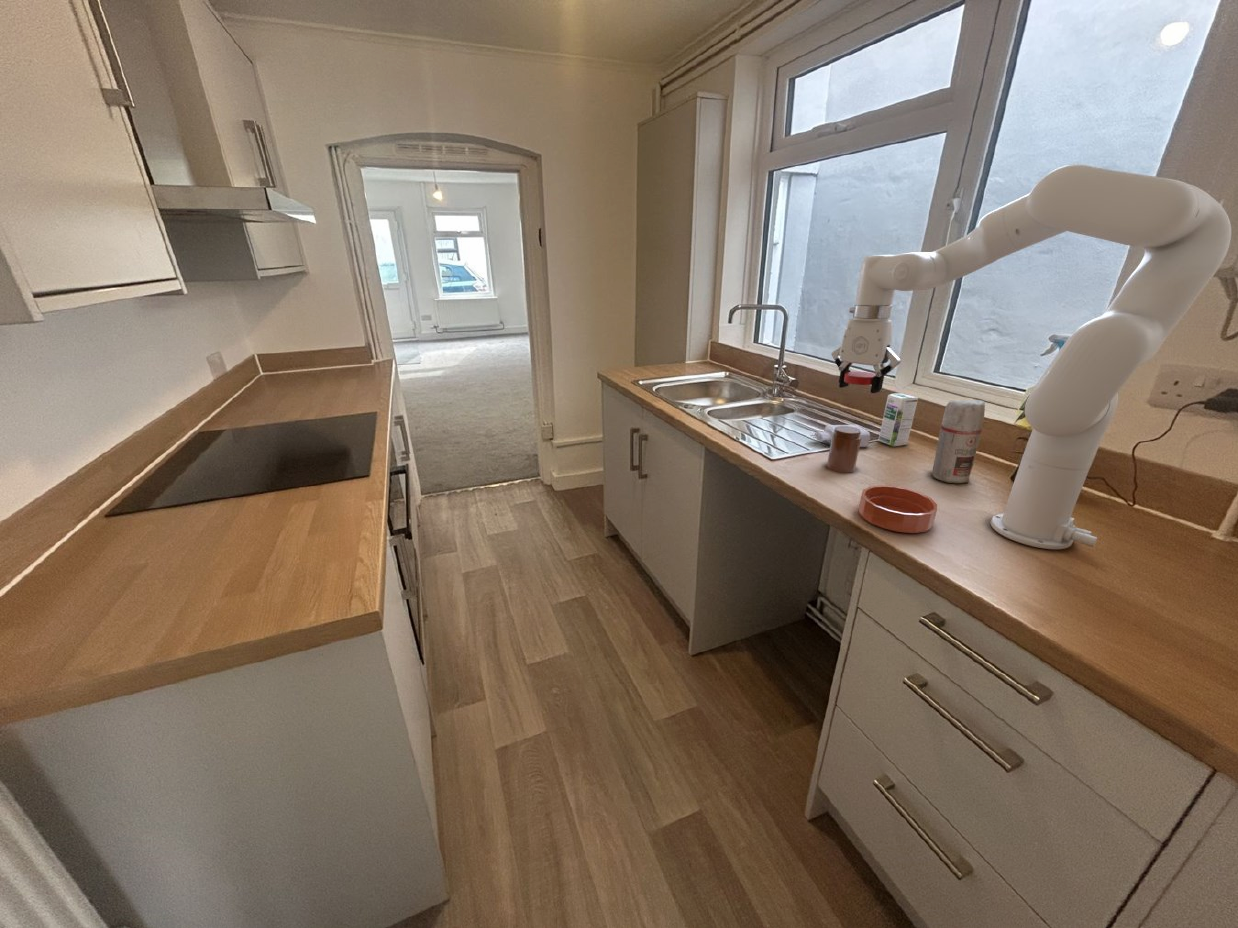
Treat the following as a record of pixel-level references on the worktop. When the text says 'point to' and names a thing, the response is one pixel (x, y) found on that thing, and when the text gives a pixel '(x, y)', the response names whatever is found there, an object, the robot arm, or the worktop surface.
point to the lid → (859, 378)
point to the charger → (830, 429)
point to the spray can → (958, 440)
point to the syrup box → (897, 419)
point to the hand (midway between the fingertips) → (859, 389)
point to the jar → (844, 449)
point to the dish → (897, 509)
